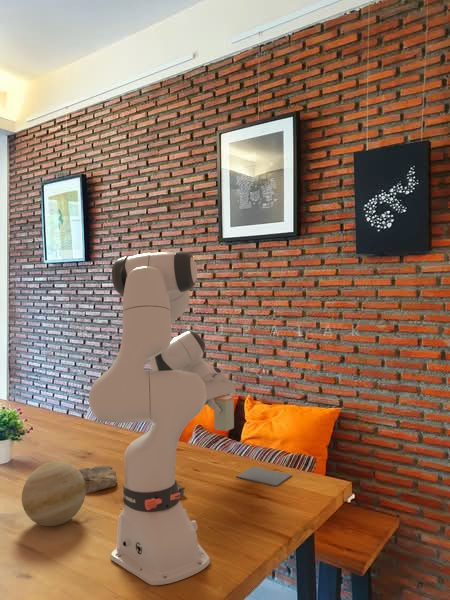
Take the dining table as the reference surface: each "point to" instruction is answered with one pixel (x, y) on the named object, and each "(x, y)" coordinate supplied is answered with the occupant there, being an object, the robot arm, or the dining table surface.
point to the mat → (264, 476)
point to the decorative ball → (53, 493)
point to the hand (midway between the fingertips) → (225, 410)
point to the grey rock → (99, 478)
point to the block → (224, 413)
